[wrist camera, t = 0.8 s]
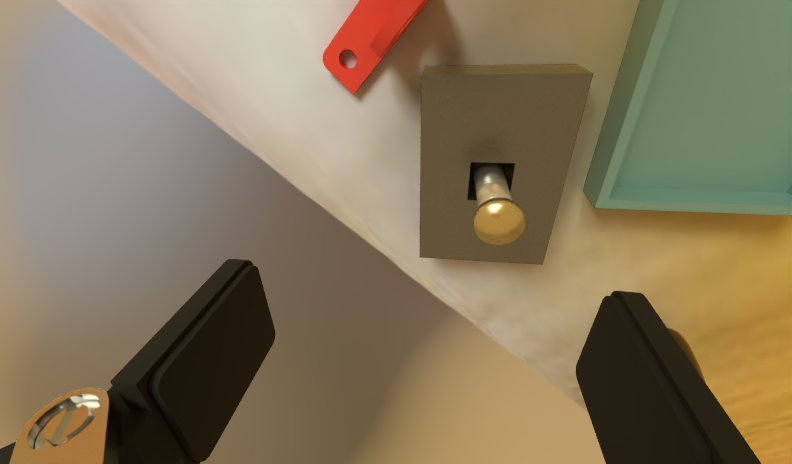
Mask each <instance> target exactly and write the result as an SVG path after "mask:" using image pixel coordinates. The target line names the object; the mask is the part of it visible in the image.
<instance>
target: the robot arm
mask: <svg viewBox="0 0 792 464" xmlns="http://www.w3.org/2000/svg"><path fill="white" fill-rule="evenodd" d="M274 339H275V329H274V325H273V322H272V318H271V314H270V311H269V307H268V303H267V300H266V296H265V292H264V289H263V285H262V281H261V278H260V274H259V270H258V268H257V267H256V266H253V263H252V262H251V261H249V260H239V259H228V260H227V261H225V263H223V265H222V266H221V267H220V268H219V269H218V270H217V271H216V272H215V273H214V274H213V275H212V276H211V277H210V278H209V279H208V280H207V281H206V282H205V283H204V284H203V285H202V286H201V287H200V289H199V290H198V291H197V292H196V293H195V294H194V295H193V296H192V297H191V298H190V299H189V300H188V301H187V302H186V303H185V304H184V305H183V306H182V307H181V308H180V309H179V311H178V312H177V313H176V314H175V315H174V316H173V317H172V318H171V319H170V320H169V321H168V322H167V323H166V324H165V325H164V326H163V327H162V328H161V329H160V330H159V331H158V332H157V333H156V334H155V335H154V337H152V339H151V340H150V341H149V342H148V343H147V344H146V345H145V346H144V347H143V348H142V349H141V350H140V351H139V352H138V353H137V354H136V355H135V356H134V357H133V358H132V359H131V360H130V362H129V363H128V364H127V365H126V366H125V367H124V368H123V369H122V370H121V371H120V372H119V373H118V374H117V375H116V376H115V377H114V378H113V379H112V380H111V384H112V385H113V386H112V387H111V388H110V389H109V390H108V391H107V393H106V392H105V391H104V390H103V389H99V388H83V389H79V390H76V391H72V392H70V393H68V394H66V395H63V396H61V397H59V398H57V399H56V400H54V401H53V402H51V403H49V404H48V405H46V406H45V407H43V408H42V409H41V410H40V411H39V412H38V413H36V414H35V415H34V416H33V417H32V418H31V419H30V420H29V421H28V423H27V424H26V425H25V426H24V427H23V429H22V431H21V432H20V434H19V436H18V439H17V441H16V442H14V443H12V444H10V445H8V446H6V447H4V448H1V449H0V464H200V462H202V461H205V460H206V459H207V458H208V457H209V456H210V454H211V452H212V451H213V449H214V447H215V445H216V444H217V442H218V440H219V438H220V437H221V435H222V433H223V431H224V429H225V428H226V426H227V424H228V422H229V420H230V419H231V417H232V415H233V414H234V412H235V410H236V408H237V406H238V405H239V403H240V401H241V399H242V397H243V395H244V394H245V392H246V391H247V389H248V387H249V385H250V383H251V382H252V380H253V378H254V376H255V374H256V373H257V371H258V369H259V368H260V366H261V364H262V362H263V360H264V359H265V357H266V355H267V353H268V352H269V350H270V348H271V346H272V345H273V342H274ZM576 377H577V380H578V383H579V386H580V389H581V392H582V395H583V398H584V401H585V404H586V407H587V410H588V413H589V415H590V418H591V421H592V424H593V427H594V430H595V433H596V436H597V439H598V442H599V445H600V447H601V450H602V453H603V456H604V459H605V462H606V464H761V462H760V461H759V460H758V458H757V457H756V455H755V454H754V452H753V451H752V449H751V448H750V447H749V445H748V444H747V442H746V441H745V439H744V438H743V437H742V435H741V434H740V432H739V431H738V429H737V428H736V426H735V425H734V424H733V422H732V421H731V419H730V418H729V416H728V415H727V414H726V412H725V411H724V409H723V408H722V406H721V405H720V403H719V402H718V401H717V399H716V398H715V396H714V395H713V393H712V392H711V391H710V389H709V388H708V386H707V385H706V383H705V382H704V380H703V379H702V378H701V376H700V375H699V373H698V372H697V370H696V369H695V368H694V366H693V365H692V363H691V362H690V360H689V359H688V357H687V356H686V355H685V353H684V352H683V350H682V349H681V347H680V346H679V345H678V343H677V342H676V340H675V339H674V337H673V336H672V334H671V333H670V332H669V330H668V329H667V327H666V326H665V324H664V323H663V322H662V320H661V319H660V317H659V316H658V314H657V313H656V311H655V310H654V309H653V307H652V306H651V304H650V303H649V301H648V300H647V299H646V297H645V296H644V295H643V294H641V293H635V292H623V291H614V292H613V293H612V294H611V295H610V296H605V297H604V299H603V300H602V303H601V305H600V308H599V310H598V313H597V315H596V318H595V320H594V323H593V325H592V328H591V330H590V333H589V335H588V338H587V340H586V342H585V345H584V347H583V350H582V352H581V355H580V357H579V360H578V362H577V365H576Z"/></svg>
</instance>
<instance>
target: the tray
mask: <svg viewBox="0 0 792 464" xmlns="http://www.w3.org/2000/svg"><path fill="white" fill-rule="evenodd" d="M583 191H584V193H585V194H586V196H587V197H588V199H589V200H590V201H591V203H592V204H593V206H594V207H595V208H607V209H633V210H659V211H685V212H711V213H737V214H763V215H790V216H792V0H640V3H639V6H638V9H637V13H636V16H635V19H634V23H633V26H632V29H631V33H630V36H629V39H628V43H627V46H626V49H625V53H624V56H623V59H622V63H621V66H620V69H619V73H618V76H617V79H616V82H615V86H614V89H613V92H612V96H611V99H610V102H609V106H608V109H607V112H606V116H605V119H604V122H603V126H602V129H601V132H600V136H599V139H598V142H597V145H596V149H595V152H594V155H593V159H592V162H591V165H590V169H589V172H588V175H587V179H586V182H585V185H584V189H583Z"/></svg>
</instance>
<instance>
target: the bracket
mask: <svg viewBox="0 0 792 464" xmlns="http://www.w3.org/2000/svg"><path fill="white" fill-rule="evenodd" d="M428 1H429V0H360V1H359V2H358V4H357V5H356V7H355V8H354V10H353V11H352V13H351V14H350V15H349V17H348V18H347V20H346V21H345V23H344V24H343V26H342V27H341V28H340V30H339V31H338V33H337V34H336V36H335V37H334V39H333V40H332V41H331V43H330V44H329V46H328V47H327V49H326V50H325V52H324V54H323V63H324V65H325V67H326V68H327V69H328V70H329V71H330V72H331V73H332V74H333V75H334V76H335V77H336V78H337V79H338V80H339V81H340V82H342V83H343V84H344V85H345V86H346V87H347V88H348V89H349V90H350V91H351V92H352V93H353V94H354V93H355V92H356V91H357V90H358V88H359V87H360V86H361V85H362V83H363V82H364V81H365V80H366V78H367V77H368V76H369V75H370V73H371V72H372V71H373V70H374V68H375V67H376V66H377V65H378V63H379V62H380V61H381V60H382V58H383V57H384V56H385V55H386V53H387V52H388V51H389V50H390V48H391V47H392V46H393V45H394V43H395V42H396V41H397V40H398V38H399V37H400V36H401V35H402V33H403V32H404V31H405V30H406V28H407V27H408V26H409V25H410V23H411V22H412V21H413V20H414V18H415V17H416V16H417V15H418V13H419V12H420V11H421V10H422V8H423V7H424V6H425V5H426V3H427V2H428ZM345 49H349V50H351V51H353V52H354V54H355V55H356V58H357V63H356V65H355V67H354V68H348V67H346V66H345V65H344V64H343V62H342V58H341V56H342V52H343V51H344V50H345Z"/></svg>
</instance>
